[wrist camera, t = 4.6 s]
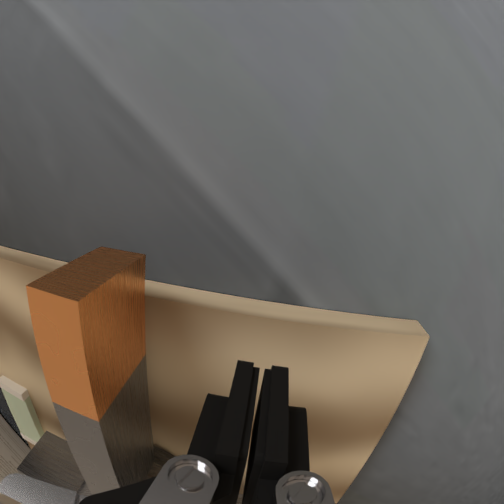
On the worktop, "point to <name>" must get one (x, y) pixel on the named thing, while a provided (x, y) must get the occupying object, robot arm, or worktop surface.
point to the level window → (22, 410)
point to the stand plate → (225, 360)
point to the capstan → (94, 374)
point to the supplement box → (10, 450)
